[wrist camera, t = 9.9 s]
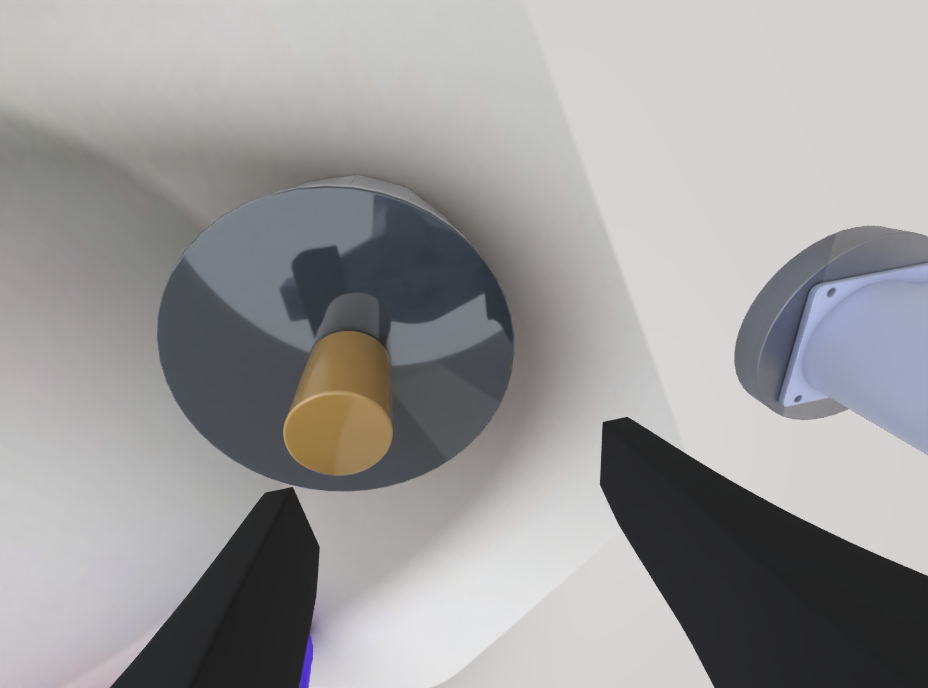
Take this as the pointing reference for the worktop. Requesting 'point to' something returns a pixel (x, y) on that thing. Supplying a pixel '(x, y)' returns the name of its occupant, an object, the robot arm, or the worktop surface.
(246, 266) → the lid
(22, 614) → the worktop surface
